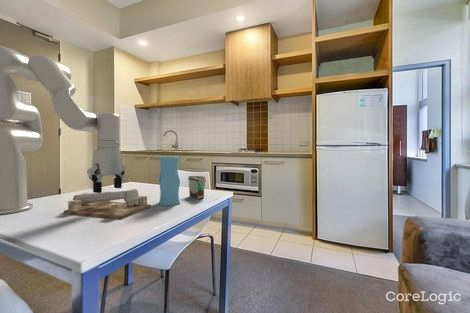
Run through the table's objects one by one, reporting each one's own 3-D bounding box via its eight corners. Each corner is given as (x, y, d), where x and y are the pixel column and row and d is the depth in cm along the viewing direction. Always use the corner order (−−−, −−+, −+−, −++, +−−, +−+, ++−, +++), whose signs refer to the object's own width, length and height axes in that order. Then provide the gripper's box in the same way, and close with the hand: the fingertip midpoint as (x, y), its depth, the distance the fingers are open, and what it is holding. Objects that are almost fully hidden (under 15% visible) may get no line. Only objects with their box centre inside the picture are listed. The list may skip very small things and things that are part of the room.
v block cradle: (63, 213, 80) (63, 201, 80) (100, 203, 96) (100, 192, 96) (121, 219, 74) (121, 205, 74) (151, 207, 90) (150, 196, 90)
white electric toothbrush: (81, 192, 88) (142, 184, 87) (83, 209, 88) (144, 201, 87) (70, 195, 83) (135, 187, 82) (73, 213, 83) (138, 205, 82)
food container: (210, 198, 105) (210, 177, 105) (198, 200, 101) (198, 178, 101) (199, 194, 115) (199, 175, 115) (188, 195, 112) (188, 176, 111)
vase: (158, 201, 99) (158, 157, 98) (176, 200, 102) (176, 156, 101) (160, 206, 91) (160, 157, 91) (180, 204, 95) (179, 157, 94)
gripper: (117, 145, 94) (117, 186, 94) (79, 144, 77) (79, 193, 77) (132, 146, 92) (132, 187, 92) (97, 145, 75) (96, 195, 76)
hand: (108, 190), depth 85 cm, fingers open, 9 cm apart
